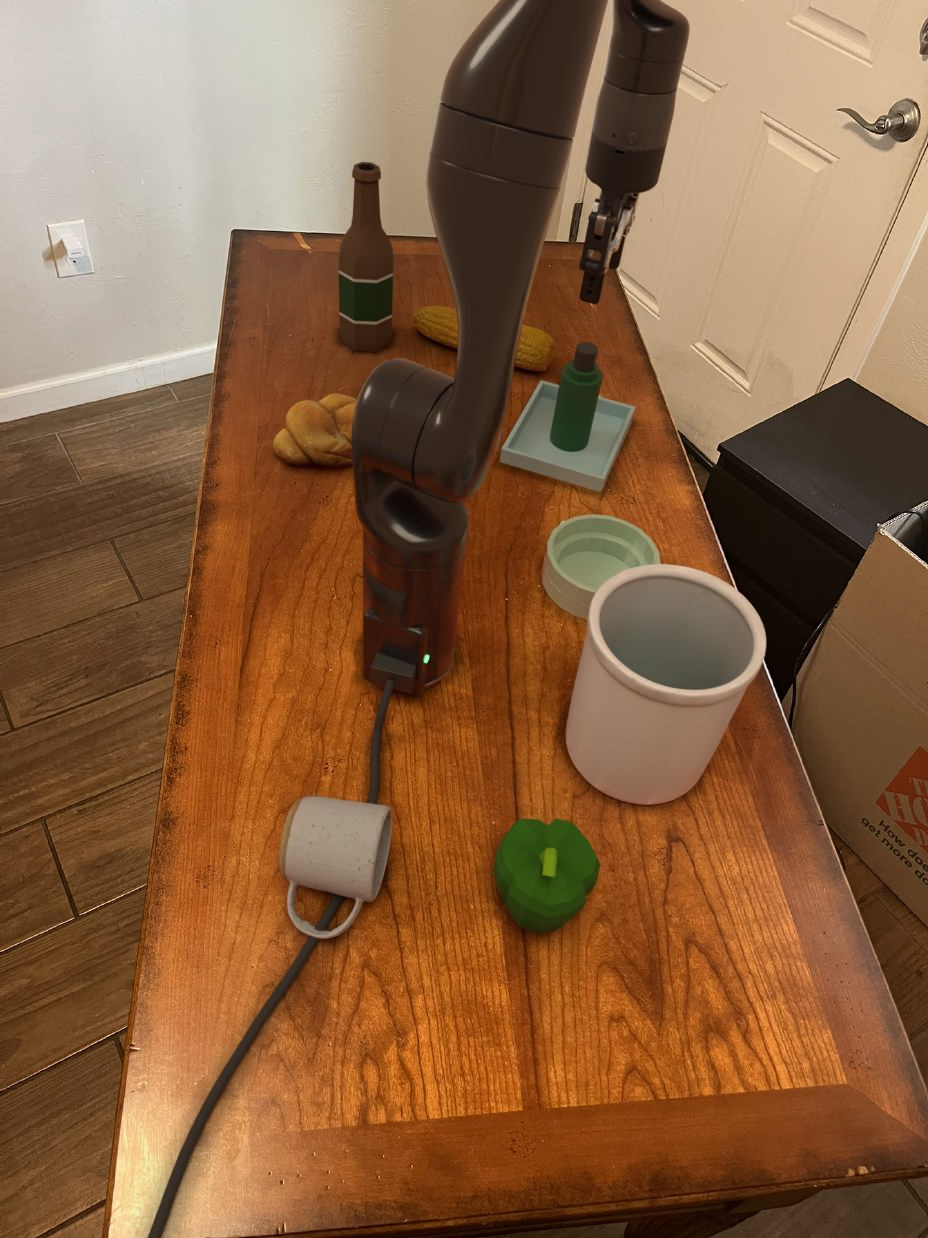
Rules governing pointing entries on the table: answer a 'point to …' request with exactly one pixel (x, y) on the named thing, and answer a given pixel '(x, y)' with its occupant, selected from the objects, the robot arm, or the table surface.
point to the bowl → (591, 558)
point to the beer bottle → (366, 269)
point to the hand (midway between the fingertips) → (599, 283)
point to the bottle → (576, 400)
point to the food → (444, 329)
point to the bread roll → (318, 432)
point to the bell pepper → (544, 873)
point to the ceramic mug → (334, 852)
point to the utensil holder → (659, 680)
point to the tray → (581, 467)
